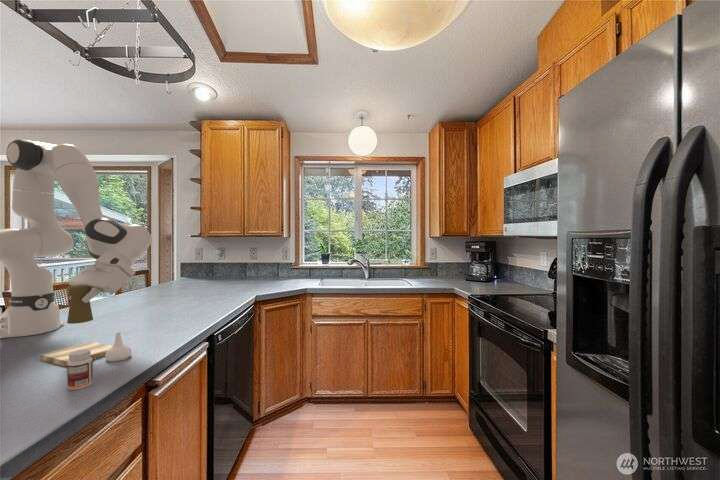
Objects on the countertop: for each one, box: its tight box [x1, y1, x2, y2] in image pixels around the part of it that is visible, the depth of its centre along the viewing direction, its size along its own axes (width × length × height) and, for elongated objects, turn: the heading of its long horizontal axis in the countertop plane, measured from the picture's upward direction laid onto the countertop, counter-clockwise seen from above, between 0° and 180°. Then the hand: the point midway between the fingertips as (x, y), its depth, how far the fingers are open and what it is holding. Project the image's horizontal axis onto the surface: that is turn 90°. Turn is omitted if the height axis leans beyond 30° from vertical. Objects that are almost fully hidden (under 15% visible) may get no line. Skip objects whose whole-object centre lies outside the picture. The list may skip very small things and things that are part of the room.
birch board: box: [40, 340, 114, 367], centre depth 100 cm, size 14×13×2 cm
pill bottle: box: [66, 349, 94, 391], centre depth 80 cm, size 5×5×8 cm
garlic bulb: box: [105, 331, 133, 363], centre depth 98 cm, size 6×6×8 cm
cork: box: [66, 285, 94, 325], centre depth 100 cm, size 6×6×11 cm
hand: (77, 301), depth 99 cm, fingers closed on cork, 4 cm apart
